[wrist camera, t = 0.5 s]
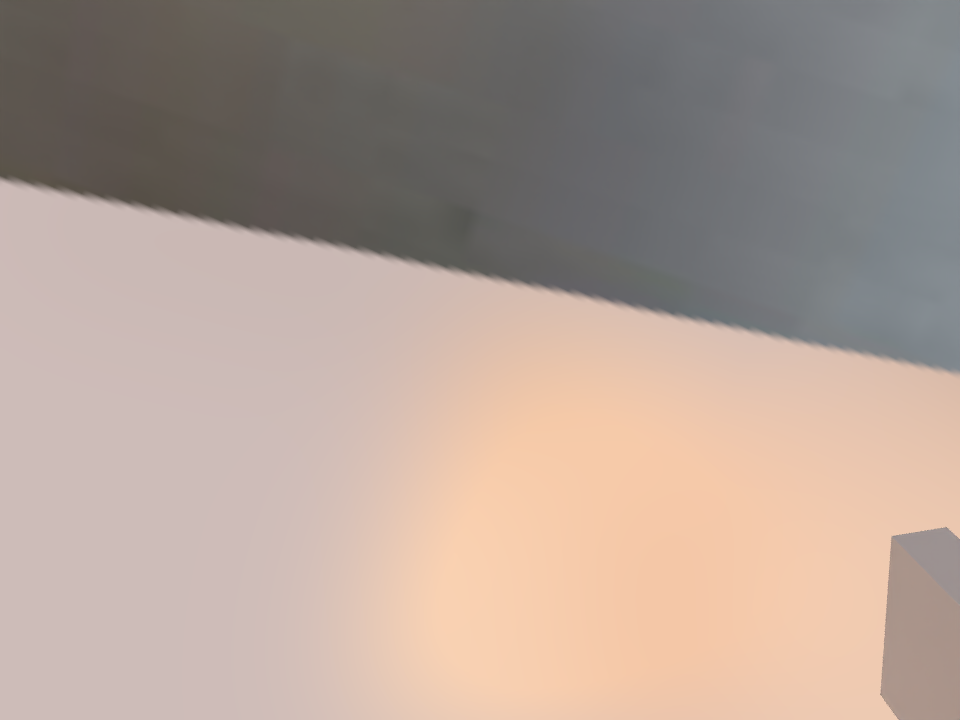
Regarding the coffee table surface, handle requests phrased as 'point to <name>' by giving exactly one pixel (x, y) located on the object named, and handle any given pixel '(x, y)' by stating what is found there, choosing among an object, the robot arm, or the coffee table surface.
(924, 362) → the coffee table surface
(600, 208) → the coffee table surface
